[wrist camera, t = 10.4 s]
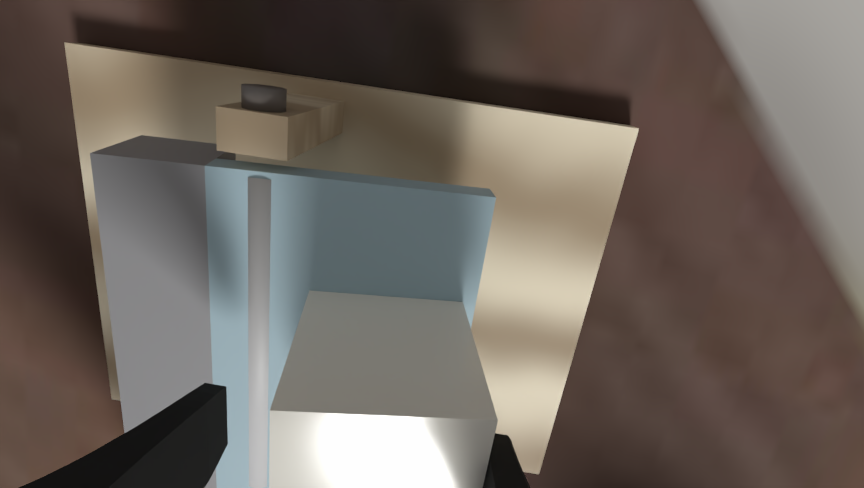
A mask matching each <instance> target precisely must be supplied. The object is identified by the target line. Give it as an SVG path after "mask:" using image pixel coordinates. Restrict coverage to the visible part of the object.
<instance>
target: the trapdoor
mask: <svg viewBox="0 0 864 488" xmlns="http://www.w3.org/2000/svg"><path fill="white" fill-rule="evenodd" d="M90 159H91V167H92V175H93V183H94V191H95V200H96V208H97V216H98V224H99V232H100V240H101V248H102V256H103V264H104V272H105V280H106V288H107V296H108V304H109V312H110V320H111V328H112V336H113V344H114V352H115V360H116V368H117V376H118V384H119V392H120V400H121V408H122V416H123V424H124V432H125V433H126V432H128V431H130V430H131V429H133V428H135V427H136V426H138V425H139V424H141V423H143V422H144V421H146V420H147V419H149V418H151V417H152V416H154V415H155V414H157V413H159V412H160V411H162V410H163V409H165V408H166V407H168V406H170V405H171V404H173V403H174V402H176V401H177V400H179V399H180V398H182V397H183V396H185V395H186V394H188V393H190V392H191V391H193V390H194V389H196V388H197V387H199V386H201V385H202V384H204V383H209V384H215V385H221V386H226V391H227V432H228V445H227V447H226V449H225V451H224V453H223V455H222V457H221V459H220V461H219V463H218V465H217V467H216V469H215V471H214V472H213V474H212V476H211V478H210V480H209V482H208V483H207V485H206V486H205V488H269V441H270V408H271V405H272V402H273V399H274V396H275V393H276V390H277V387H278V384H279V381H280V378H281V375H282V372H283V369H284V366H285V363H286V360H287V357H288V354H289V351H290V348H291V344H292V341H293V338H294V335H295V332H296V329H297V326H298V323H299V320H300V317H301V314H302V311H303V308H304V305H305V302H306V299H307V296H308V293H309V290H310V291H323V292H337V293H350V294H364V295H377V296H390V297H404V298H417V299H430V300H444V301H457V302H463V304H464V307H465V311H466V314H467V317H468V321H469V324H470V327H471V326H472V321H473V315H474V310H475V305H476V300H477V295H478V289H479V284H480V279H481V274H482V269H483V263H484V258H485V253H486V248H487V243H488V237H489V232H490V227H491V222H492V217H493V211H494V206H495V201H496V197H495V195H494V194H493V193H492V191H491V190H490V189H487V188H478V187H469V186H460V185H451V184H442V183H433V182H424V181H416V180H407V179H398V178H389V177H380V176H371V175H362V174H353V173H344V172H335V171H326V170H317V169H308V168H299V167H290V166H281V165H272V164H263V163H254V162H245V161H236V153H230V152H224V151H217V144H214V143H206V142H197V141H188V140H180V139H171V138H162V137H154V136H145V135H140V136H137V137H134V138H132V139H129V140H126V141H123V142H120V143H117V144H114V145H112V146H109V147H106V148H103V149H100V150H97V151H94V152H92V153H90Z"/></svg>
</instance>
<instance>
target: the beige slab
mask: <svg viewBox="0 0 864 488" xmlns="http://www.w3.org/2000/svg"><path fill="white" fill-rule="evenodd" d="M64 43H65V42H64ZM65 51H66V59H67V66H68V74H69V81H70V89H71V96H72V104H73V111H74V119H75V126H76V134H77V141H78V149H79V156H80V164H81V171H82V179H83V187H84V194H85V202H86V209H87V217H88V224H89V232H90V239H91V247H92V254H93V262H94V269H95V277H96V284H97V292H98V299H99V307H100V315H101V322H102V330H103V337H104V345H105V352H106V360H107V367H108V375H109V382H110V390H111V397H112V399H113V400H119V401H121V400H120V392H119V384H118V376H117V368H116V360H115V352H114V344H113V336H112V328H111V320H110V312H109V304H108V296H107V288H106V280H105V272H104V264H103V256H102V248H101V240H100V232H99V224H98V216H97V208H96V200H95V191H94V183H93V175H92V167H91V159H90V153H92V152H94V151H97V150H100V149H103V148H106V147H109V146H112V145H114V144H117V143H120V142H123V141H126V140H129V139H132V138H134V137H137V136H140V135H145V136H154V137H162V138H171V139H180V140H188V141H197V142H206V143H214V144H217V151H224V152H230V153H236V161H245V162H254V163H263V164H272V165H281V166H290V167H299V168H308V169H317V170H326V171H335V172H344V173H353V174H362V175H371V176H380V177H389V178H398V179H407V180H416V181H424V182H433V183H442V184H451V185H460V186H469V187H478V188H487V189H490V190H491V191H492V193H493V194H494V195H495V197H496V201H495V206H494V211H493V217H492V222H491V227H490V232H489V237H488V243H487V248H486V253H485V258H484V263H483V269H482V274H481V279H480V284H479V289H478V295H477V300H476V305H475V310H474V315H473V321H472V326H471V331H472V334H473V338H474V341H475V344H476V348H477V351H478V355H479V358H480V361H481V365H482V368H483V372H484V375H485V378H486V382H487V385H488V389H489V392H490V395H491V399H492V402H493V406H494V409H495V412H496V416H497V419H498V422H497V427H496V431H495V433H497V434H503V435H508V436H509V438H510V439H511V441H512V444H513V447H514V450H515V452H516V455H517V458H518V460H519V463H520V465H521V468H522V470H523V472H528V473H534V474H539V472H540V469H541V465H542V462H543V458H544V455H545V452H546V448H547V445H548V441H549V438H550V434H551V431H552V427H553V424H554V420H555V417H556V414H557V410H558V407H559V403H560V400H561V396H562V393H563V389H564V386H565V382H566V379H567V376H568V372H569V369H570V365H571V362H572V358H573V355H574V351H575V348H576V344H577V341H578V338H579V334H580V331H581V327H582V324H583V320H584V317H585V313H586V310H587V306H588V303H589V300H590V296H591V293H592V289H593V286H594V282H595V279H596V275H597V272H598V268H599V265H600V262H601V258H602V255H603V251H604V248H605V244H606V241H607V237H608V234H609V230H610V227H611V224H612V220H613V217H614V213H615V210H616V206H617V203H618V199H619V196H620V192H621V189H622V186H623V182H624V179H625V175H626V172H627V168H628V165H629V161H630V158H631V154H632V151H633V148H634V144H635V141H636V137H637V134H638V130H639V128H636V127H634V126H631V125H625V124H619V123H612V122H605V121H599V120H592V119H585V118H579V117H572V116H565V115H559V114H552V113H545V112H538V111H532V110H525V109H518V108H512V107H505V106H498V105H492V104H485V103H478V102H472V101H465V100H458V99H452V98H445V97H438V96H432V95H425V94H418V93H412V92H405V91H398V90H392V89H385V88H378V87H372V86H365V85H358V84H352V83H345V82H338V81H332V80H325V79H318V78H312V77H305V76H298V75H292V74H285V73H278V72H272V71H265V70H258V69H252V68H245V67H238V66H231V65H225V64H218V63H211V62H205V61H198V60H191V59H185V58H178V57H171V56H165V55H158V54H151V53H145V52H138V51H131V50H125V49H118V48H111V47H105V46H98V45H91V44H85V43H65Z"/></svg>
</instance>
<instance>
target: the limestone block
mask: <svg viewBox="0 0 864 488" xmlns="http://www.w3.org/2000/svg"><path fill="white" fill-rule="evenodd" d="M497 422H498V419H497V416H496V412H495V409H494V406H493V402H492V399H491V395H490V392H489V389H488V385H487V382H486V378H485V375H484V372H483V368H482V365H481V361H480V358H479V355H478V351H477V348H476V344H475V341H474V338H473V334H472V331H471V327H470V324H469V321H468V317H467V314H466V311H465V307H464V304H463V302H457V301H444V300H430V299H417V298H404V297H390V296H377V295H364V294H350V293H337V292H323V291H310V290H309V293H308V296H307V299H306V302H305V305H304V308H303V311H302V314H301V317H300V320H299V323H298V326H297V329H296V332H295V335H294V338H293V341H292V344H291V348H290V351H289V354H288V357H287V360H286V363H285V366H284V369H283V372H282V375H281V378H280V381H279V384H278V387H277V390H276V393H275V396H274V399H273V402H272V405H271V408H270V441H269V488H483V484H484V480H485V475H486V471H487V466H488V462H489V457H490V453H491V449H492V444H493V440H494V435H495V431H496V427H497Z"/></svg>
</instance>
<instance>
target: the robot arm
mask: <svg viewBox="0 0 864 488" xmlns="http://www.w3.org/2000/svg"><path fill="white" fill-rule="evenodd" d="M227 445H228V432H227V391H226V386H221V385H215V384H209V383H204V384H202V385H201V386H199V387H197V388H196V389H194V390H193V391H191V392H190V393H188V394H186V395H185V396H183V397H182V398H180V399H179V400H177V401H176V402H174V403H173V404H171V405H170V406H168V407H166V408H165V409H163V410H162V411H160V412H159V413H157V414H155V415H154V416H152V417H151V418H149V419H147V420H146V421H144V422H143V423H141V424H139V425H138V426H136V427H135V428H133V429H131V430H130V431H128V432H126V433H124V434H123V435H121V436H119V437H117V438H116V439H114V440H112V441H111V442H109V443H107V444H105V445H104V446H102V447H100V448H98V449H97V450H95V451H93V452H91V453H89V454H88V455H86V456H84V457H82V458H80V459H78V460H76V461H74V462H72V463H70V464H69V465H67V466H64V467H62V468H60V469H58V470H56V471H54V472H52V473H50V474H48V475H46V476H44V477H42V478H40V479H38V480H35V481H33V482H31V483H29V484H26V485H24V486H22V487H19V488H205V486H206V485H207V483H208V482H209V480H210V478H211V476H212V474H213V472H214V471H215V469H216V467H217V465H218V463H219V461H220V459H221V457H222V455H223V453H224V451H225V449H226V447H227ZM483 488H530V486H529V484H528V482H527V479H526V477H525V475H524V472H523V470H522V468H521V465H520V463H519V460H518V458H517V455H516V452H515V450H514V447H513V444H512V441H511V439H510V438H509V436H508V435H503V434H497V433H495V435H494V440H493V444H492V449H491V453H490V457H489V462H488V466H487V471H486V475H485V480H484V484H483Z"/></svg>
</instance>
